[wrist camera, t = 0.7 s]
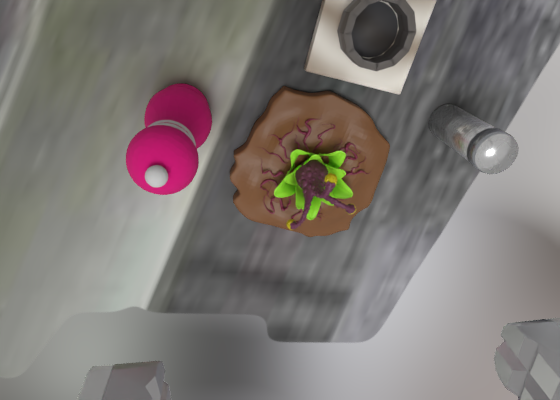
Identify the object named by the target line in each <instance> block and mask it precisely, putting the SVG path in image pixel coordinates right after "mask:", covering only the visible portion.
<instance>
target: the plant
mask: <svg viewBox="0 0 560 400" xmlns="http://www.w3.org/2000/svg"><path fill="white" fill-rule="evenodd" d="M389 149H390V145H389V143H388V142H387V141H386V140H385V138H384V137H383V136H382V135H381V134H380V133H379V131H378V130H377V129H376V127H375V124H374V122H373V120H372V119H371V117H370V116H369V115H368V114H367V113H366V112H365V111H364V110H363V109H362V108H360V107H359V106H358V105H356V104H354V103H353V102H350V101H348V100H346V99H344V98H342V97H341V96H339V95H337V94H335V93H333V92H331V91H322V92H317V93H307V92H302V91H297V90H293V89H291V88H288V87H286V86H283V87H282V88H281V89H280V90H279V91H278V92H277V93H276V94H275V95H273V96H272V98H271V99H270V101H269V104H268V106H267V108H266V110H265V112H264V113H263V114H262V115H261V117H260V118H258V120H257V121H256V122H255V124H254V126H253V128H252V131H251V133H250V135H249V137H248V139H247V141H246V142H245V144H243V145H242V146H241V147H240V148H238V149H236V150H234V158H235V164H234V165H233V167H232V168H231V170H230V180H231V181H232V183H233V184H234V185H235V186H236V187H237V189H238V190H237V191H236V193H235V194H234V196H233V203H234V204H235V206H236V207H237V209H238V210H239V211H240V212H241V213H242V214H243V215H244V216H245V217H246V218H248V219H250V220H252V221H255V222H259V223H263V224H268V225H272V226H276V227H280V228H283V229H287V230H290V231H295V232H299V233H302V234H304V235H305V236H308V237H313V236H326V235H331V234H333V233H336V232H339V231H343V230H348V229H349V226H350V222H351V220H352V218H353V217H354V216H355V215H356V214H357V213H358V212H360V211H361V210H363V209H365V208H367V207H368V206H369V205H370V203H371V201H372V199H373V196H374V192H375V190H376V187H377V185H378V182H379V180H380V177H381V175H382V172H383V169H384V167H385V164H386V161H387V157H388V153H389Z"/></svg>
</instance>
